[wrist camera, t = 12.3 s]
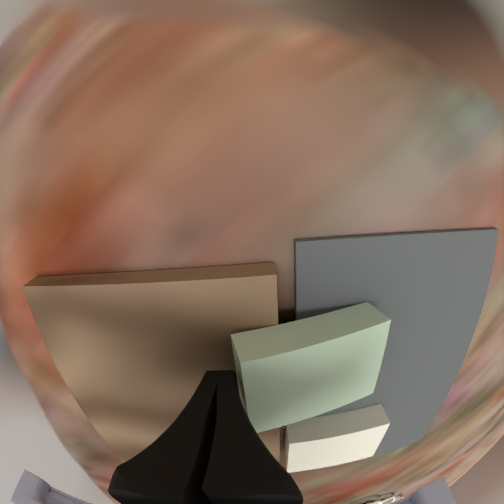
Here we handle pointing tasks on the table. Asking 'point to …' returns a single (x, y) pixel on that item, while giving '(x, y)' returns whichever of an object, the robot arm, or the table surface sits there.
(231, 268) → the board
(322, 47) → the table surface
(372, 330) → the tile sage
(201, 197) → the table surface
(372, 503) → the tangled rod sculpture
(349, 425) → the tile cream
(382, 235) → the mat
